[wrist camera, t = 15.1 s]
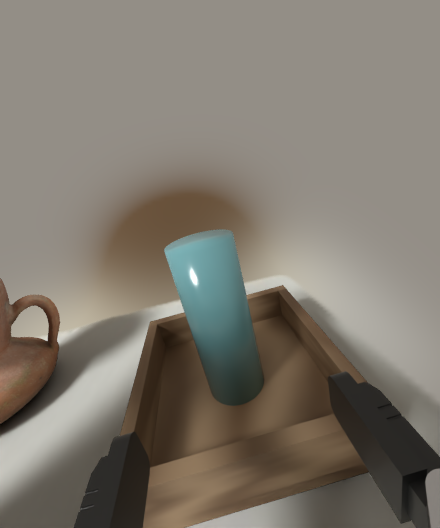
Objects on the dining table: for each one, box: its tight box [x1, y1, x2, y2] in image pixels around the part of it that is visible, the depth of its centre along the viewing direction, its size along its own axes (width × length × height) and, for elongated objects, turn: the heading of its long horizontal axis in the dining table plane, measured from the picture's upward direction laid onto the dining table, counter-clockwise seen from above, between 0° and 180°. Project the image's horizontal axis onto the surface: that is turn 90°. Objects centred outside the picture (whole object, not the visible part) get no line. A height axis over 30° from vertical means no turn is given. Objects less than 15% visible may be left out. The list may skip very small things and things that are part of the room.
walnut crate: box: [120, 285, 369, 528], centre depth 23 cm, size 17×18×4 cm
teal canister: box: [164, 229, 264, 406], centre depth 21 cm, size 5×5×14 cm
